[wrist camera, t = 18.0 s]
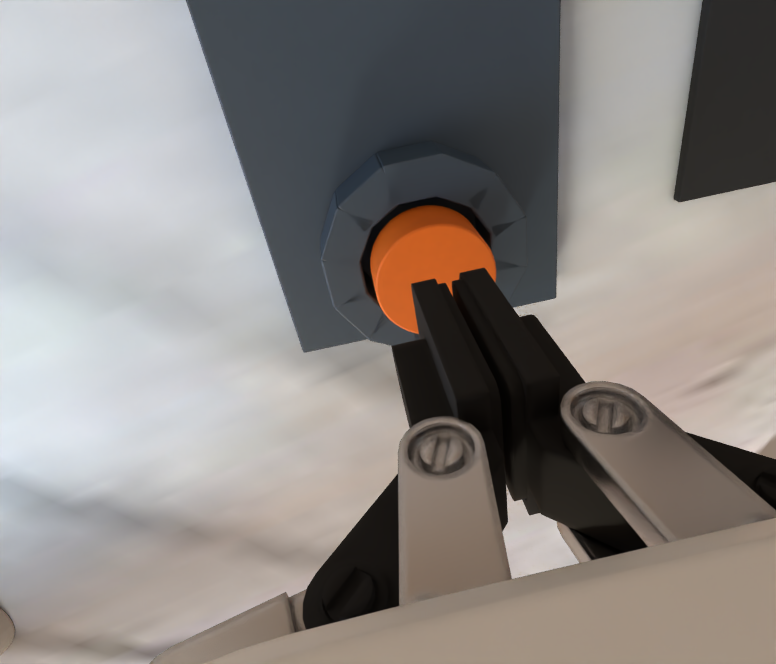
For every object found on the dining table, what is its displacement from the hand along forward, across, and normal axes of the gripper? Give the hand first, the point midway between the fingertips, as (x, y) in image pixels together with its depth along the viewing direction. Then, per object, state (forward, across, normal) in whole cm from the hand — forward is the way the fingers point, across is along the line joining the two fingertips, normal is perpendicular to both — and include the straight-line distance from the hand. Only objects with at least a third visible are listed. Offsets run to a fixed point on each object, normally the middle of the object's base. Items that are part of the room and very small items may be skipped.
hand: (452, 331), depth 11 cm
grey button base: (+8, 0, -2) cm, 8 cm away
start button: (+5, 0, +1) cm, 5 cm away
